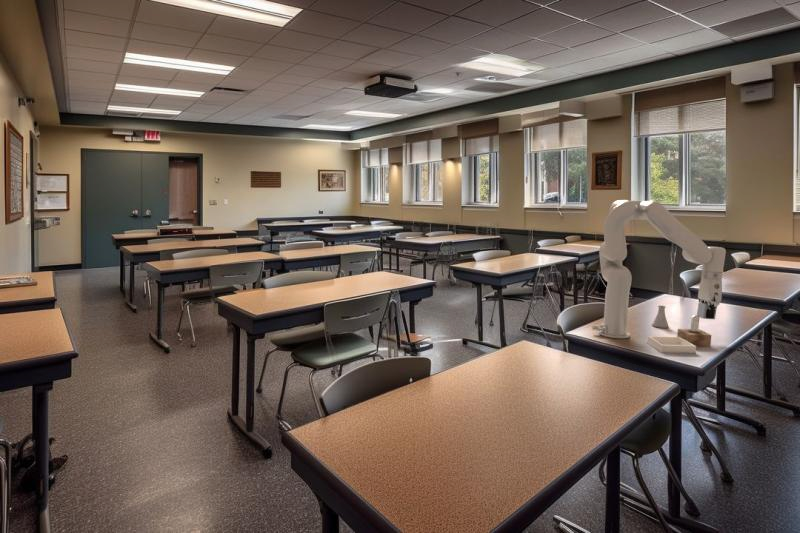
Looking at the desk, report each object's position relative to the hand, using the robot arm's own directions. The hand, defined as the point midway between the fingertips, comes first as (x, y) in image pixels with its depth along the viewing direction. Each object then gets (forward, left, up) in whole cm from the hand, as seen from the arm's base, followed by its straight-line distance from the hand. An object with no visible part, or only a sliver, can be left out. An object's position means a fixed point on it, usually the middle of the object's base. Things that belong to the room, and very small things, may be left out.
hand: (705, 316), depth 209 cm
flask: (-9, +21, -11) cm, 25 cm away
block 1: (-8, -7, -10) cm, 15 cm away
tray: (-21, -15, -10) cm, 28 cm away
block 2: (0, 0, -1) cm, 1 cm away
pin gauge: (-8, -7, -10) cm, 15 cm away
